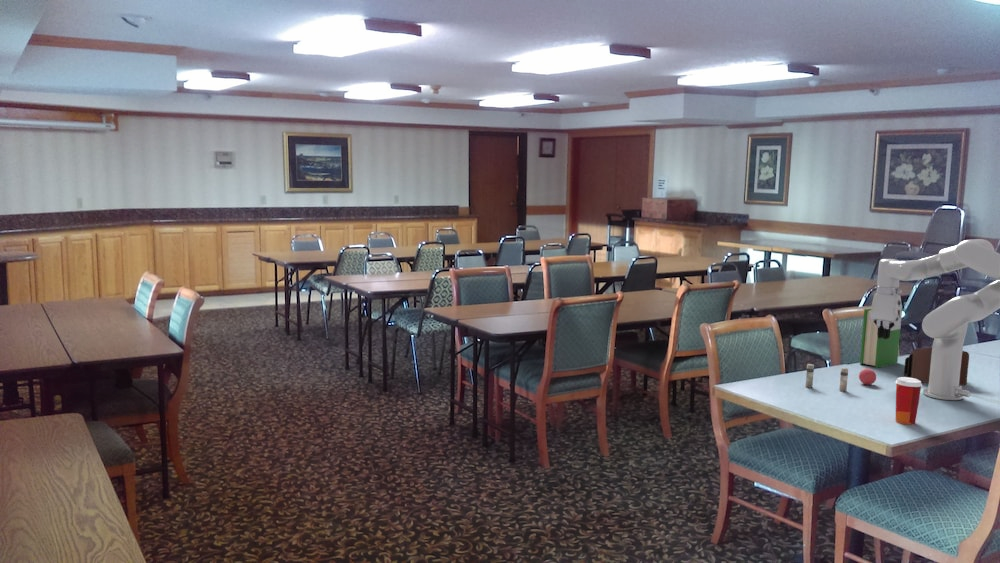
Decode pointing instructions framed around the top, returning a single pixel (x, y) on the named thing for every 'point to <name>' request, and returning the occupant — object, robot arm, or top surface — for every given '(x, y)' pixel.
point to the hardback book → (878, 343)
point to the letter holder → (920, 365)
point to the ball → (867, 376)
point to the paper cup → (907, 399)
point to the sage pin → (809, 375)
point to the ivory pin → (843, 379)
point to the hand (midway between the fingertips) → (883, 337)
